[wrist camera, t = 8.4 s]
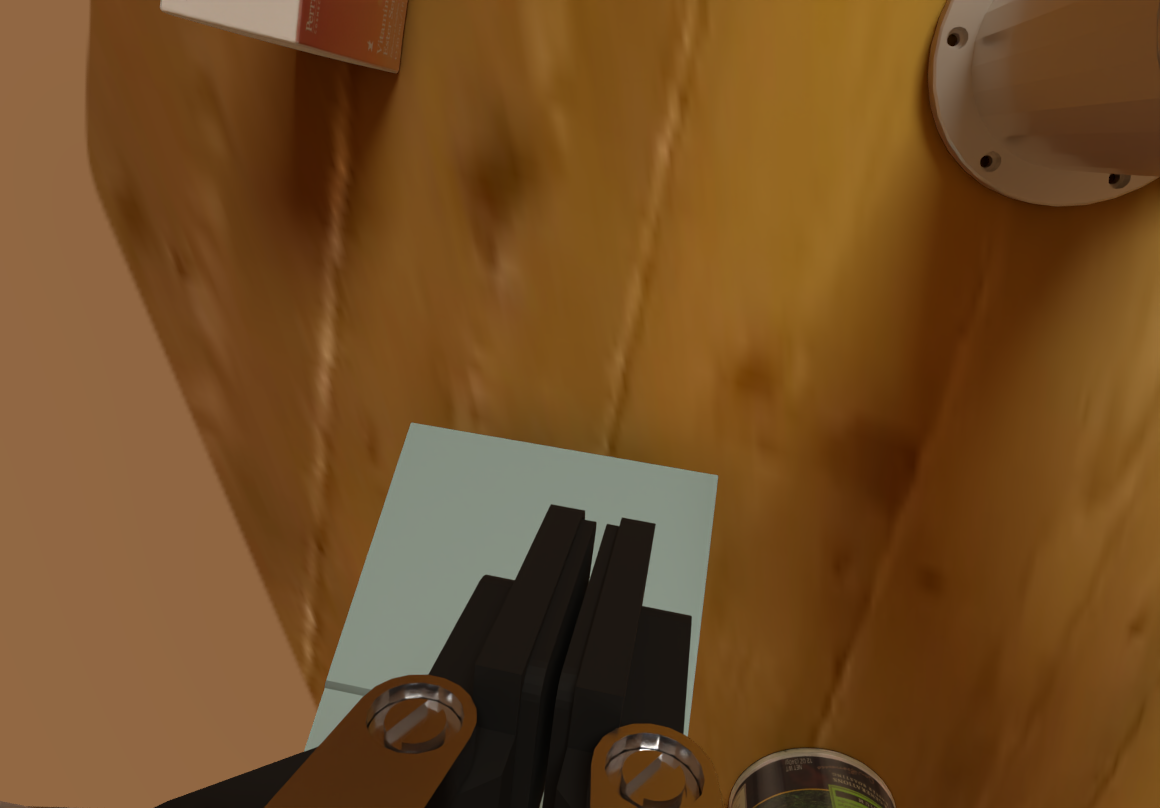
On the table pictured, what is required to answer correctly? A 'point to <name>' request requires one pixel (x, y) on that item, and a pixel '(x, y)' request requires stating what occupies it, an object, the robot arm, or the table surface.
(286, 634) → the table surface
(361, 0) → the small box
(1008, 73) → the robot arm
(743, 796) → the coffee can
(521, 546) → the flap
